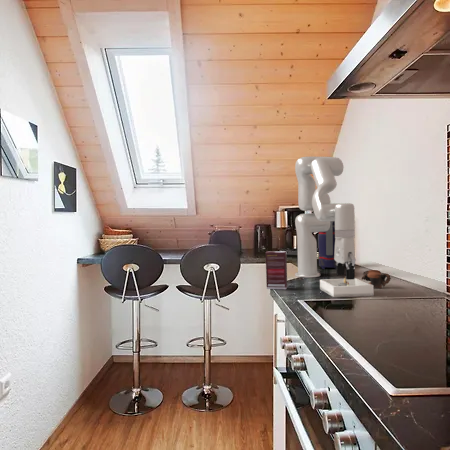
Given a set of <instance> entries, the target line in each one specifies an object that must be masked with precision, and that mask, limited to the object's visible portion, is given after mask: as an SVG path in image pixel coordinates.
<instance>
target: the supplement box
mask: <svg viewBox="0 0 450 450" xmlns="http://www.w3.org/2000/svg"><path fill="white" fill-rule="evenodd" d="M287 256H288V255H287V251H285V250H283V251H281V250H279V251H275V250H273V251H271V250H270V251H268V250H266V252H265V273H266V274H265V277H266V284H265V285H266V289H267V290H287V288H288V265H287V264H288V263H287V261H288V259H287Z"/></svg>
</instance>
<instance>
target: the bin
mask: <svg viewBox="0 0 450 450" xmlns="http://www.w3.org/2000/svg"><path fill="white" fill-rule="evenodd" d="M344 279H345V278H330V279H327V278H326V279H319V290H321V291H322V292H324V293H326V294H328V295H329V296H331V297H332V298H351V297H353V298H354V297H374V290H375V289H374V288H373V285H371V284H369V283H370V282H367V281H365V280H364V281H363V280H360V279H359V278H356V277H355V279H348V281H349V284H350V285H349V286H338V284H340V283H344ZM346 281H347V280H346ZM348 281H347V282H348Z"/></svg>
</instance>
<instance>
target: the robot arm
mask: <svg viewBox="0 0 450 450" xmlns="http://www.w3.org/2000/svg"><path fill="white" fill-rule="evenodd" d="M294 165H295V166H294V172H295V175H296V179H297V186H298V187H297V189H298V190H297V191H298V192H297V193H298V195H297V196H298V197H297V198H298V201H297V202H298V208H299V209H300V210H301V211H303V212H304V211H305V212H311V213H300V214H299V215H297V216H296V217H295V220H294V222H295V223H294V224H295V229H296V239H297V240H296V241H297V245H296V246H297V272H294V275H295V277H298V278H318V277H320V276H321V273H320V272H318V257H317V256H318V253H317V252H318V251H317V250H318V248H317V247H318V246H317V244H318V243H317V238H316V237H315V236H314V235H313V233H319V232H325V231H328V230H329V228H330V221H335V238H336V239H335V252H334V260H335V261H336V265H338V266H336V269H335V270H336V276H346V279H355V278H356V277H355V273H356V272H355V269H356V261H357V259H356V251H355V250H356V249H355V240H354V239H355V238H356V236H355V235H356V230H355V228H356V227H355V223H356V222H355V221H356V220H355V205H354V204H353V203H349V202H348V203H347V202H345V203H342V202H341V203H335V202H334V203H332V202H331V197H330V195H329V194H330V193H331V192H332V191H334V190H336V188H337V185H338V184H337V180H336V177H339V176H342V174H343V172H344V168H345V167H344V163H343V161H342V159H340V158H339V157H333V156H303V157H299V158H298V159H297V160H296V161H295V164H294ZM312 211H313V213H312ZM345 267H346V268H345Z"/></svg>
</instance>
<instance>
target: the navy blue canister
mask: <svg viewBox="0 0 450 450" xmlns="http://www.w3.org/2000/svg"><path fill="white" fill-rule="evenodd" d="M335 239H336V238H335V221H330V228H329V230H328V231H325V232H318V266H319V267H321V269H323V270H325V269H326V268H334V269H335V270H336V266H338V265H336V261H335V260H334V252H335Z"/></svg>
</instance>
